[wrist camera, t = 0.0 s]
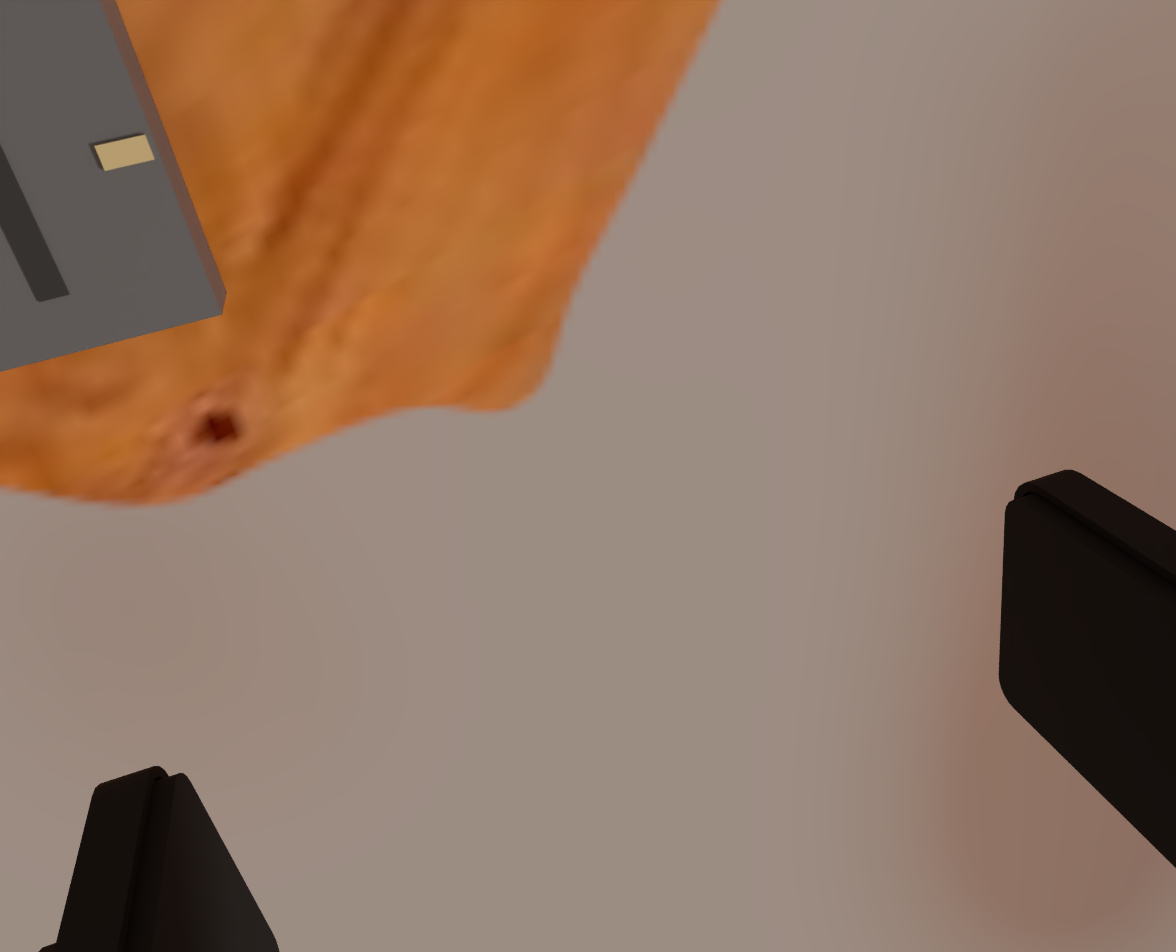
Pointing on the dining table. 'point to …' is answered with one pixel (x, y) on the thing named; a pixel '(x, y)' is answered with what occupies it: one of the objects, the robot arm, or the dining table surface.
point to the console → (88, 191)
